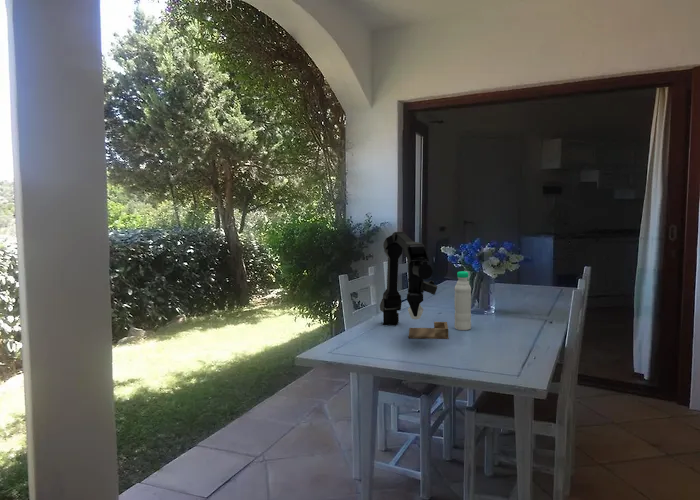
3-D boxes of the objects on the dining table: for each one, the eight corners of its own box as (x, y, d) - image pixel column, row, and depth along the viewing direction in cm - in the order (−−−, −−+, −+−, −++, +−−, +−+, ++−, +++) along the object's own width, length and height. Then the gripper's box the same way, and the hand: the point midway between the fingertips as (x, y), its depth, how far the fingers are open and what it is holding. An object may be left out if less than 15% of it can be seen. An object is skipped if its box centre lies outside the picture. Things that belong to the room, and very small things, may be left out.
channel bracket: (408, 338, 200) (408, 329, 200) (409, 329, 214) (409, 321, 213) (448, 339, 198) (448, 329, 197) (446, 330, 211) (446, 321, 211)
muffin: (419, 320, 190) (419, 303, 189) (405, 319, 193) (405, 301, 193) (426, 317, 195) (425, 300, 195) (411, 315, 198) (411, 298, 198)
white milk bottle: (471, 327, 216) (471, 270, 213) (470, 331, 209) (470, 273, 207) (455, 326, 218) (455, 270, 215) (453, 330, 211) (453, 272, 209)
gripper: (436, 279, 182) (436, 320, 184) (435, 272, 201) (435, 309, 202) (406, 279, 184) (407, 320, 185) (408, 272, 202) (408, 309, 204)
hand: (415, 314), depth 194 cm, fingers closed on muffin, 6 cm apart
